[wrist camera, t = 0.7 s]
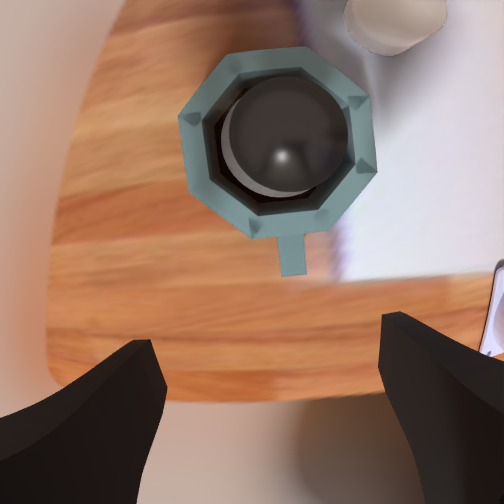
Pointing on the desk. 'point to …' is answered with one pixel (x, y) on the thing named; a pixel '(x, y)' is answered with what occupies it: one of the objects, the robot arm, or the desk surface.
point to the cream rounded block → (393, 23)
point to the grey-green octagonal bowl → (290, 211)
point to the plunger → (284, 137)
